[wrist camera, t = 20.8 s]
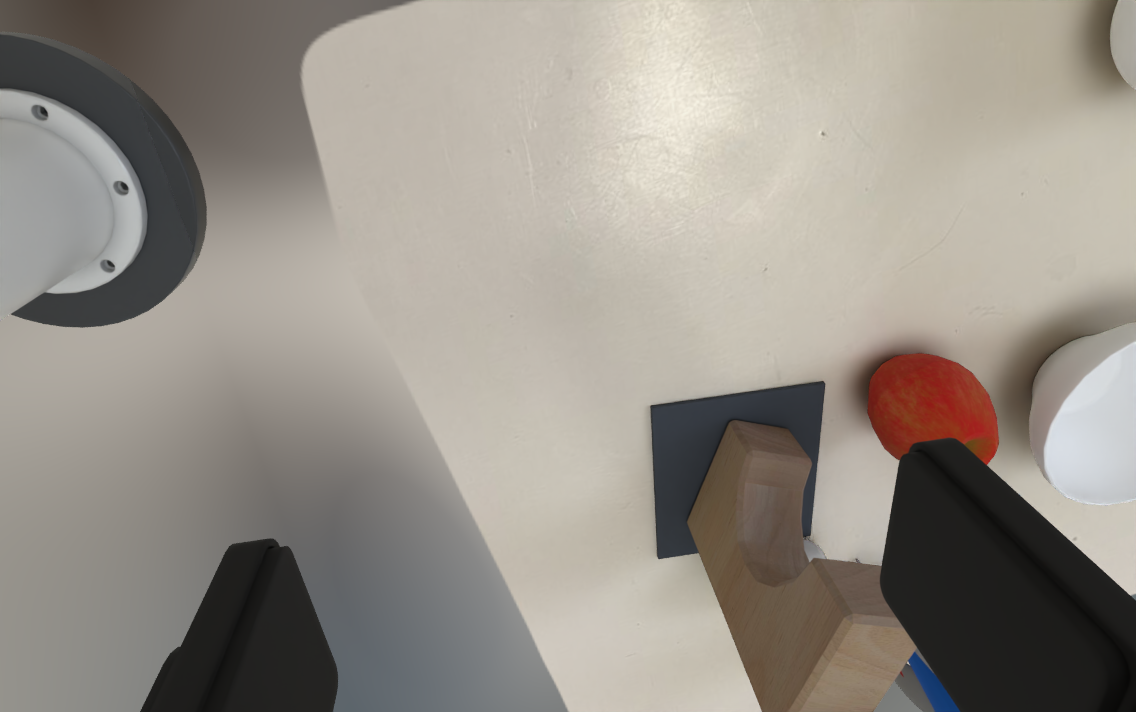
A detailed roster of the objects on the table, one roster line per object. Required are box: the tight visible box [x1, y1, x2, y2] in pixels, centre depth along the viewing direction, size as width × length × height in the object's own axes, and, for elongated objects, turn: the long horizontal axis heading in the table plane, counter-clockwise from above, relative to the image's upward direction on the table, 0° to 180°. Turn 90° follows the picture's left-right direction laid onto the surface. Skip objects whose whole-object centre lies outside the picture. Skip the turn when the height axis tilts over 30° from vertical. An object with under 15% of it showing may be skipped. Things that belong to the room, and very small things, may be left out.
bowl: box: [1029, 322, 1136, 505], centre depth 53 cm, size 16×16×7 cm
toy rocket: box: [856, 559, 960, 712], centre depth 54 cm, size 11×10×25 cm
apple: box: [867, 353, 999, 465], centre depth 49 cm, size 8×8×11 cm
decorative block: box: [687, 420, 917, 712], centre depth 48 cm, size 11×6×20 cm, turn 164°
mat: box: [651, 381, 825, 559], centre depth 57 cm, size 14×16×1 cm
